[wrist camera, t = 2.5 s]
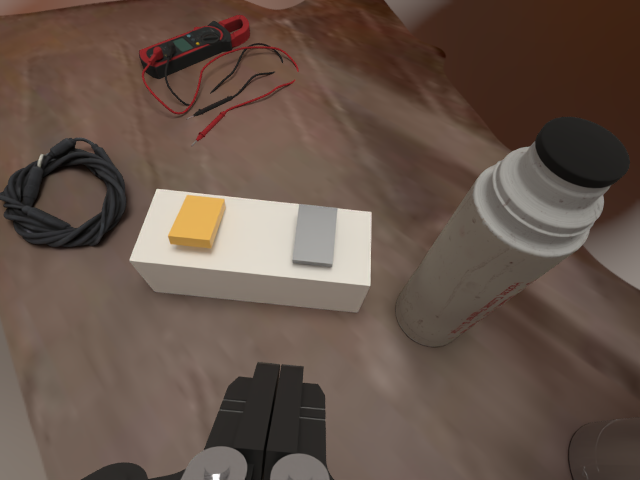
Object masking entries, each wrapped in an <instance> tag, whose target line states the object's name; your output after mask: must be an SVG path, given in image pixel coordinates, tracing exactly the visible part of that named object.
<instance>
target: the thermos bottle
mask: <svg viewBox="0 0 640 480" xmlns="http://www.w3.org/2000/svg"><path fill="white" fill-rule="evenodd" d="M629 164H630V160H629V155H628V153H627V150H626V149H625V147H624V146H623V144H622V143H621V142H620V141H619V139H618V138H617V137H616V136H614V135H613V134H612V133H611V132H610V131H608V130H606V129H605V128H603V127H602V126H600V125H598V124H595V123H593V122H591V121H588V120H584V119H581V118H575V117H561V118H556V119H553V120H551V121H550V122H548V123H546V124H545V126H544V127H543V128H542V129H541V131H540V132H539V133H538V135H537V137H536V140H535V142H534V143H533V144H532V145H531V147H525V148H520V149H517V150H515V151H512V152H511V153H510V154H508V155H507V156H506V157H505V158H504V159H503V160H502V161H499V162H498V163H497V164H496V165H493V166H491V167H489V168H488V169H486V170H485V171H484V172H482V173H481V175H480V176H479V177H478V178H477V180H476V181H475V183H474V184H473V186H472V187H471V189H470V190H469V192H468V193H467V195H466V196H465V198H464V199H463V201H462V202H461V204H460V205H459V207H458V208H457V210H456V211H455V213H454V214H453V216H452V217H451V219H450V220H449V222H448V223H447V225H446V226H445V227H444V229H443V230H442V232H441V233H440V235H439V236H438V238H437V239H436V241H435V242H434V244H433V245H432V247H431V248H430V250H429V251H428V253H427V254H426V256H425V258H424V259H423V261H422V263H421V264H420V266H419V267H418V269H417V270H416V271H415V273H414V274H413V275H412V277H411V278H410V280H409V281H408V283H407V284H406V286H405V287H404V289H403V290H402V292H401V293H400V295H399V297H398V299H397V302H396V317H397V320H398V323H399V325H400V327H401V328H402V330H403V331H404V332H405V333H406V335H407V336H408V337H410V338H411V339H412V340H414V341H415V342H417V343H419V344H422V345H425V346H430V347H438V346H443V345H446V344H448V343H449V342H451V341H453V340H454V339H455V338H457V337H458V336H460V335H461V334H462V333H464V332H465V331H466V330H468V329H469V328H471V327H472V326H473V325H475V324H476V323H477V322H479V321H480V320H482V319H483V318H484V317H486V316H487V315H488V314H490V313H491V312H493V311H494V310H495V309H497V308H498V307H499V306H501V305H502V304H504V303H505V302H506V301H508V300H509V299H511V298H512V297H513V296H515V295H516V294H517V293H519V292H520V291H522V290H523V289H524V288H526V287H527V286H528V285H530V284H531V283H533V282H534V281H535V280H537V279H538V278H539V277H541V276H542V275H544V274H545V273H546V272H548V271H549V270H550V269H552V268H553V267H555V266H556V265H557V264H559V263H560V262H561V261H563V260H564V259H566V258H567V257H568V256H570V255H571V254H572V253H574V252H575V251H577V250H578V249H579V248H580V247H581V246H582V245H583V244H584V242H585V241H586V239H587V237H588V235H589V230H590V228H591V227H592V226H593V224H594V222H595V220H596V219H597V218H598V217H599V216H600V214H601V212H602V210H603V205H604V198H603V194H604V193H605V192H606V191H607V190H608V189H609V187H610V185H612V184H614V183H615V182H617V181H618V180H619V179H620V178H621V177H622V176H623V175H625V174H626V172H627V171H628V169H629Z"/></svg>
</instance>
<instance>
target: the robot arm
mask: <svg viewBox="0 0 640 480" xmlns="http://www.w3.org/2000/svg"><path fill="white" fill-rule="evenodd" d="M303 368H304V366H294V365H284V364H282V365H281V371H280V364H273V363H263V362H258V363H257V366H256V369H255V372H254V376H253V378H248V377H238V378H237V379H236V380H235V381H233V382H232V383H231V384H230V385H229V386H228V388H227V391H226V394H225V396H224V400H223V401H222V404H221V407H220V410H219V412H218V414H217V417H216V420H215V422H214V425H213V427H212V430H211V433H210V435H209V438H208V441H207V443H206V446H205V448H204V451H202V452H200V453H199V454H197V455H196V456H195V457H194V458H193V459H192V460H191V461H190V463H189V465H188V466H187V468H186V469H185V470H183V471H181V472H178V473H175V474H172V475H168V476H162V477H157V478H152V479H148V478H147V474H146V472H145V471H144V469H142V468H141V467H140V466H138V465H136V464H133V463H115V464H112V465H108V466H106V467H103V468H101V469H99V470H97V471H95V472H94V473H92V474H90V475H88V476H87V477H85V478H83V479H81V480H334V479H333V478H332V476H331V475H330V473H329V471H328V468H327V465H326V427H325V395H324V393H323V391H322V390H321V388H320V386H319V385H318V384H310V383H302V381H303ZM279 372H280V376H279ZM569 463H570V469H571V472H572V476H573V479H574V480H640V417H635V418H627V419H617V420H609V421H601V422H594V423H588V424H586V425H584V426H582V427H581V428H580V429H579V430H578V431H577V432H576V433H575V435H574V436H573V438H572V440H571V444H570V447H569Z"/></svg>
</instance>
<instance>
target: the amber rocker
mask: <svg viewBox="0 0 640 480" xmlns="http://www.w3.org/2000/svg"><path fill="white" fill-rule="evenodd" d="M225 208H226V206H225V199H221V198H212V197H202V196H193V195H187V196H186V198H185V200H184V202H183V204H182V207H181V209H180V211H179V213H178V215H177V217H176V219H175V221H174V224H173V226H172V228H171V230H170V232H169V234H168V238H169V241H170V244H174V245H183V246H193V247H202V248H212V245H213V242H214V239H215V236H216V234H217V231H218V228H219V225H220V222H221V219H222V216H223V214H224V211H225Z"/></svg>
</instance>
